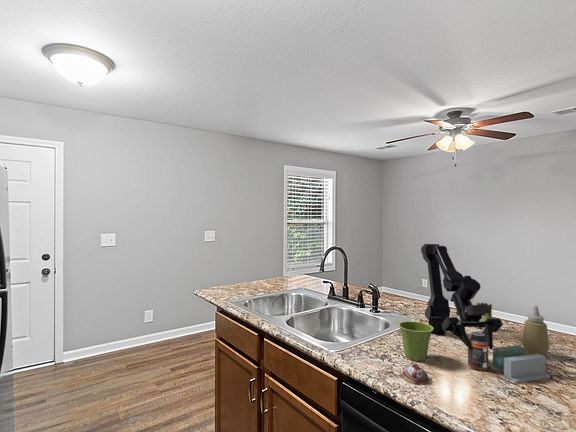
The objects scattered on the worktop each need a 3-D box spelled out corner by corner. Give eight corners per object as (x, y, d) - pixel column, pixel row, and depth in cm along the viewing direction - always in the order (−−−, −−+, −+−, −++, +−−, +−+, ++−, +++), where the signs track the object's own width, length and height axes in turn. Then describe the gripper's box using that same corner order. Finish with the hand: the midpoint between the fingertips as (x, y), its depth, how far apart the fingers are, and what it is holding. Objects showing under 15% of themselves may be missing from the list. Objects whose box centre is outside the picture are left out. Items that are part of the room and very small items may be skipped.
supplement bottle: (491, 372, 105) (491, 337, 106) (471, 370, 107) (471, 336, 107) (484, 364, 111) (484, 331, 111) (465, 362, 112) (465, 329, 113)
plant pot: (431, 353, 120) (431, 322, 120) (434, 367, 109) (435, 333, 109) (397, 348, 124) (398, 319, 124) (397, 361, 113) (398, 329, 113)
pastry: (414, 387, 96) (414, 370, 96) (396, 375, 103) (396, 359, 103) (434, 382, 99) (434, 365, 99) (416, 371, 106) (416, 356, 106)
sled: (472, 357, 116) (472, 338, 116) (496, 354, 119) (496, 336, 119) (499, 371, 106) (499, 351, 106) (525, 368, 109) (525, 348, 109)
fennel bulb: (492, 329, 147) (493, 303, 147) (487, 331, 144) (487, 304, 144) (479, 326, 151) (479, 300, 151) (474, 328, 149) (474, 302, 149)
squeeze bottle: (516, 350, 123) (516, 303, 123) (536, 350, 124) (536, 303, 124) (534, 359, 115) (534, 309, 115) (555, 359, 116) (555, 309, 116)
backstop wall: (503, 376, 102) (504, 357, 102) (537, 372, 106) (537, 353, 106) (515, 383, 99) (515, 363, 99) (550, 377, 102) (550, 358, 102)
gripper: (445, 294, 113) (461, 336, 102) (499, 295, 113) (521, 338, 102) (435, 310, 121) (449, 351, 110) (486, 311, 121) (505, 353, 109)
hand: (481, 348), depth 107 cm, fingers open, 7 cm apart
